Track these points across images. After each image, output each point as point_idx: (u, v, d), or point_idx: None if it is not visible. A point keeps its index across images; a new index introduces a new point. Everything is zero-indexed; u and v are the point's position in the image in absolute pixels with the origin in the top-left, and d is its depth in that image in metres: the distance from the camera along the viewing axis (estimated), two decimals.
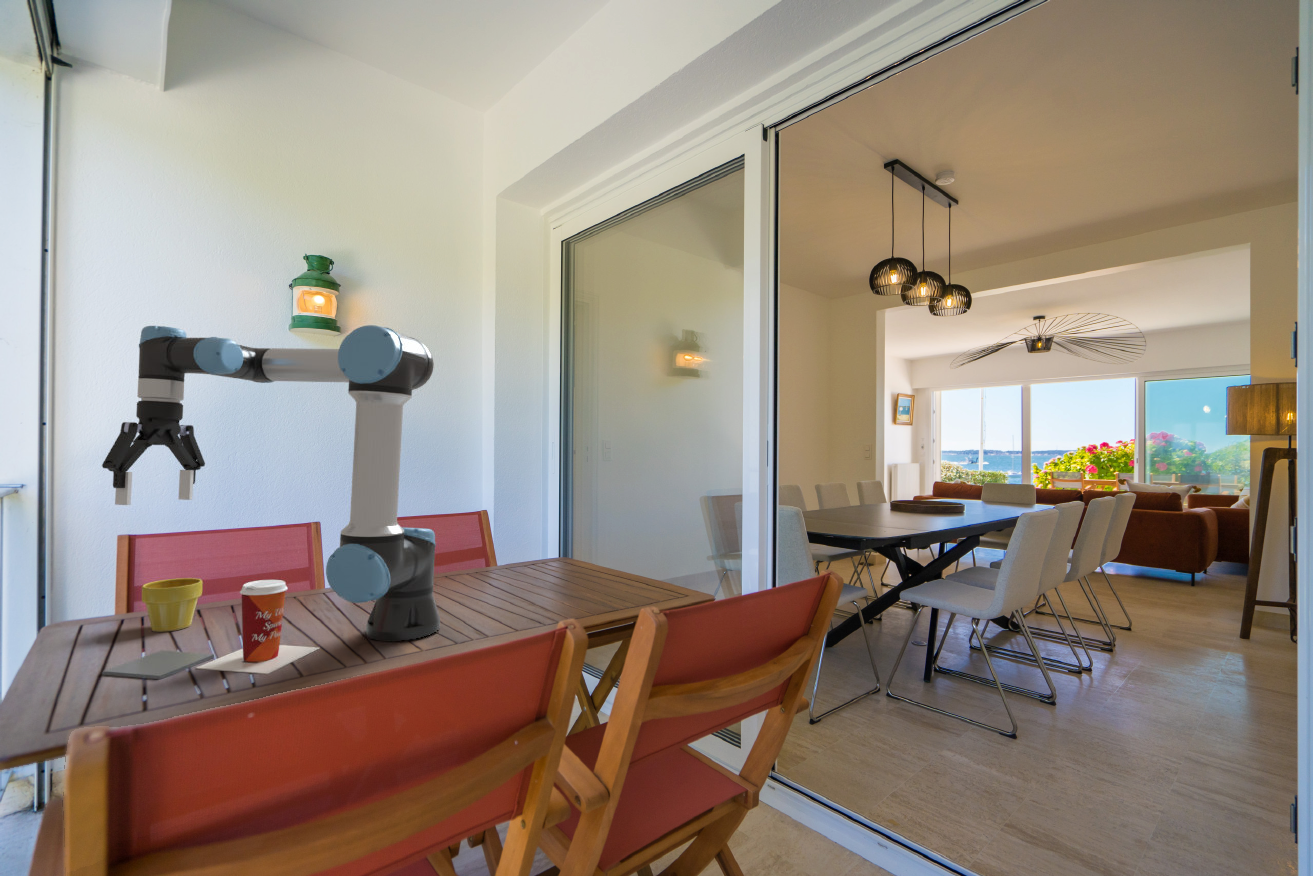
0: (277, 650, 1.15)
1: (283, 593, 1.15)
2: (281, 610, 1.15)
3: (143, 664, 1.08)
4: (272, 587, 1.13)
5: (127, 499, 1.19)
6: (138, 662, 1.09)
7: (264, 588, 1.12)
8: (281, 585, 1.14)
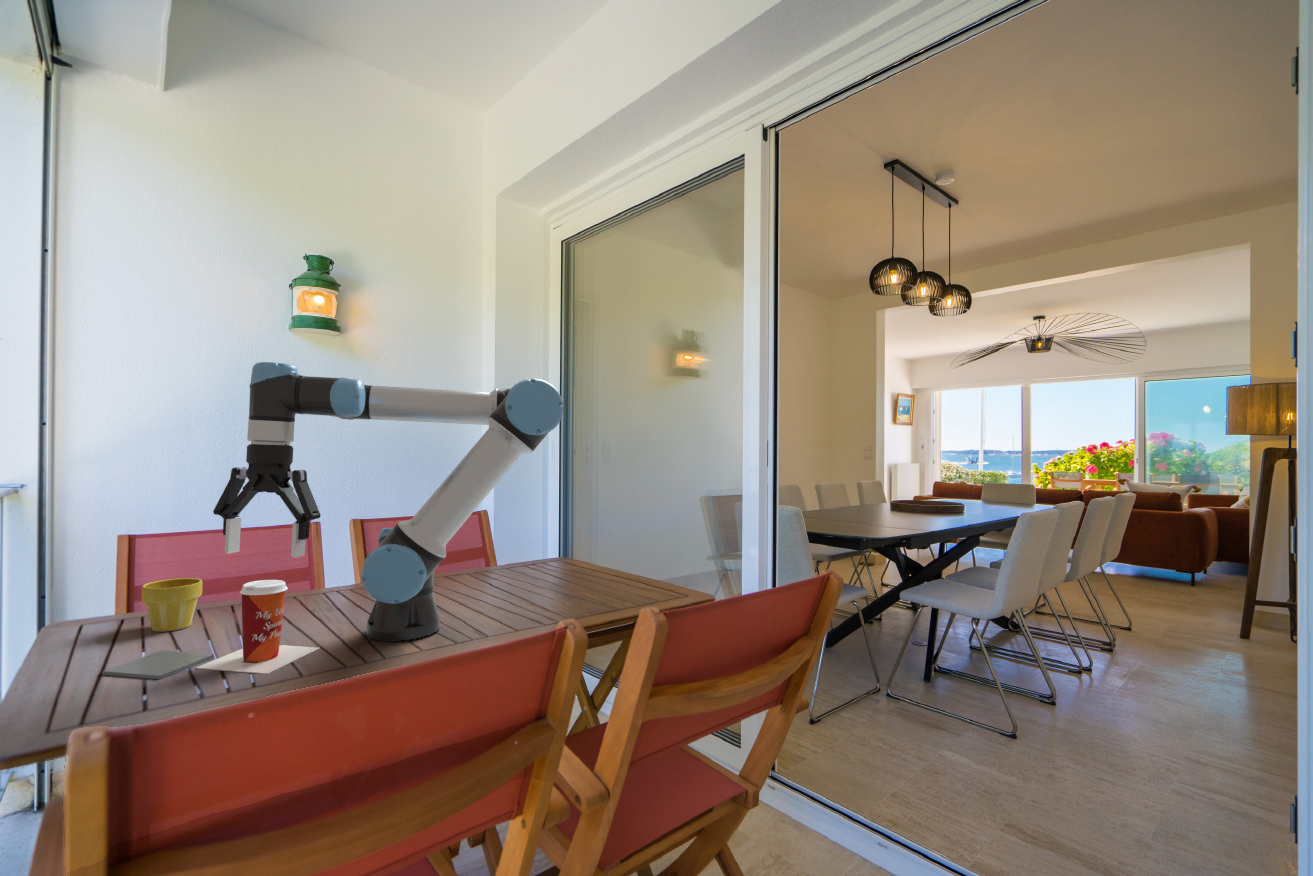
0: (277, 650, 1.15)
1: (283, 593, 1.15)
2: (281, 610, 1.15)
3: (143, 664, 1.08)
4: (272, 587, 1.13)
5: (225, 547, 1.14)
6: (138, 662, 1.09)
7: (264, 588, 1.12)
8: (281, 585, 1.14)
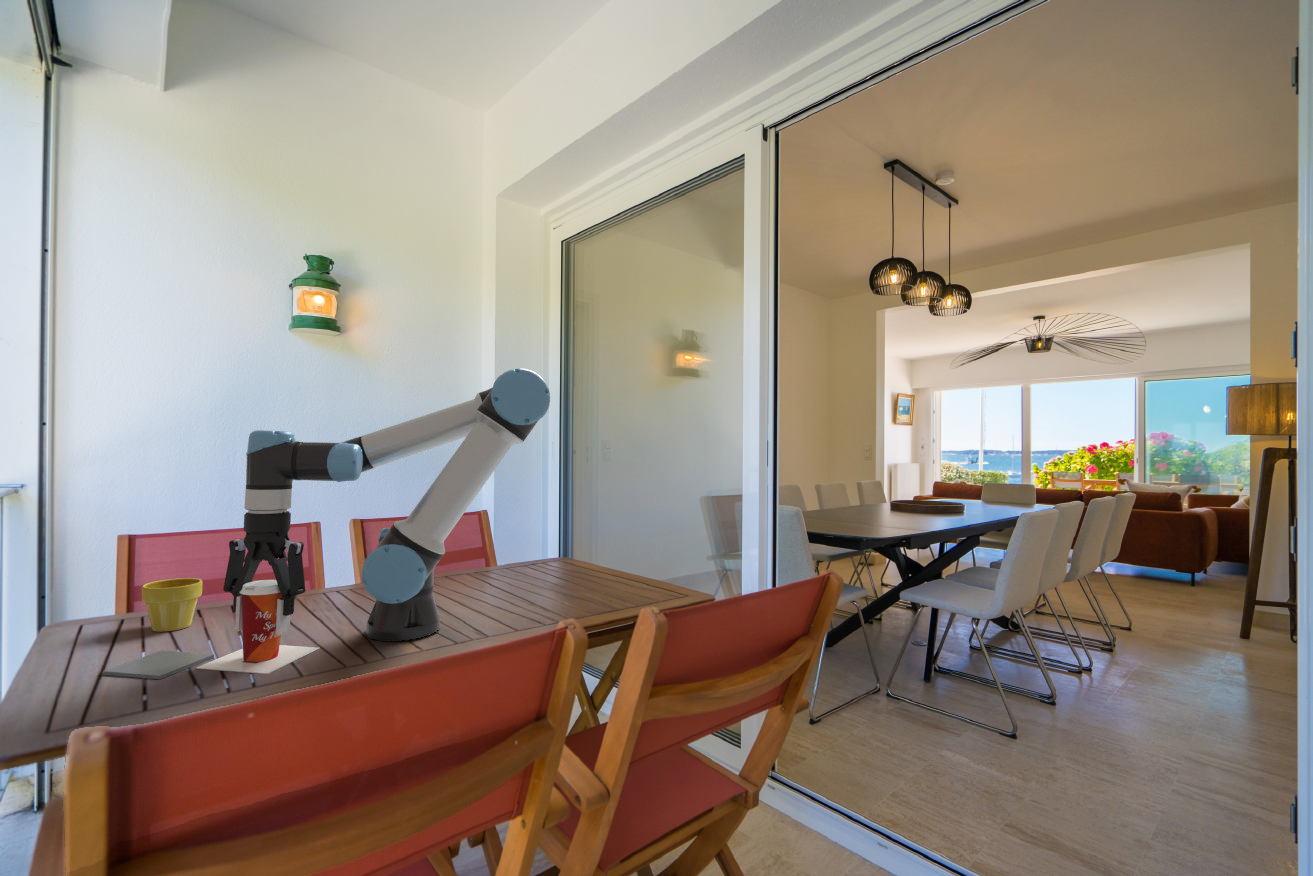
0: (277, 650, 1.15)
1: None
2: None
3: (143, 664, 1.08)
4: (272, 587, 1.13)
5: (235, 625, 1.14)
6: (138, 662, 1.09)
7: (264, 588, 1.12)
8: None
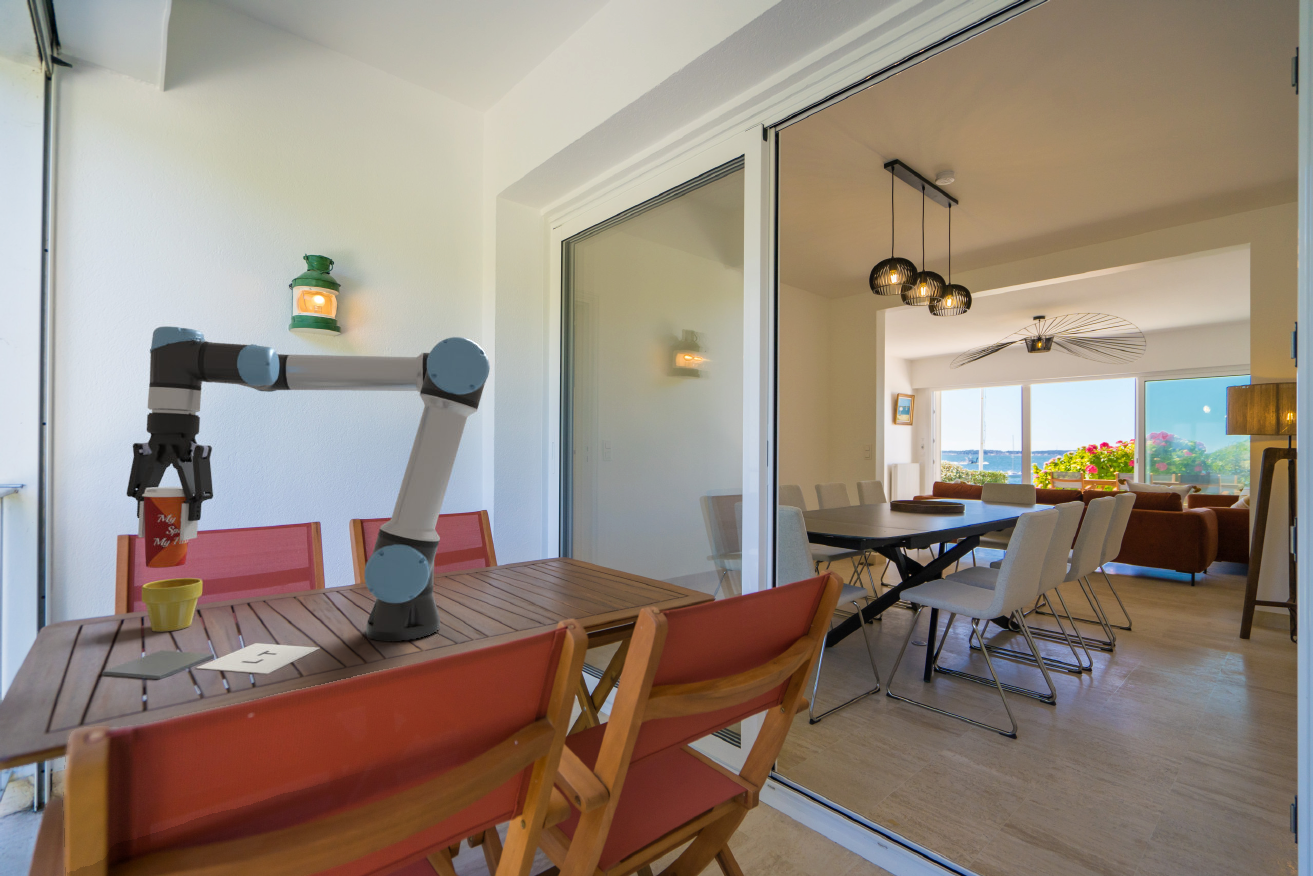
0: (183, 558, 1.10)
1: None
2: None
3: (143, 664, 1.08)
4: (176, 490, 1.08)
5: (138, 530, 1.09)
6: (138, 662, 1.09)
7: (167, 490, 1.07)
8: None
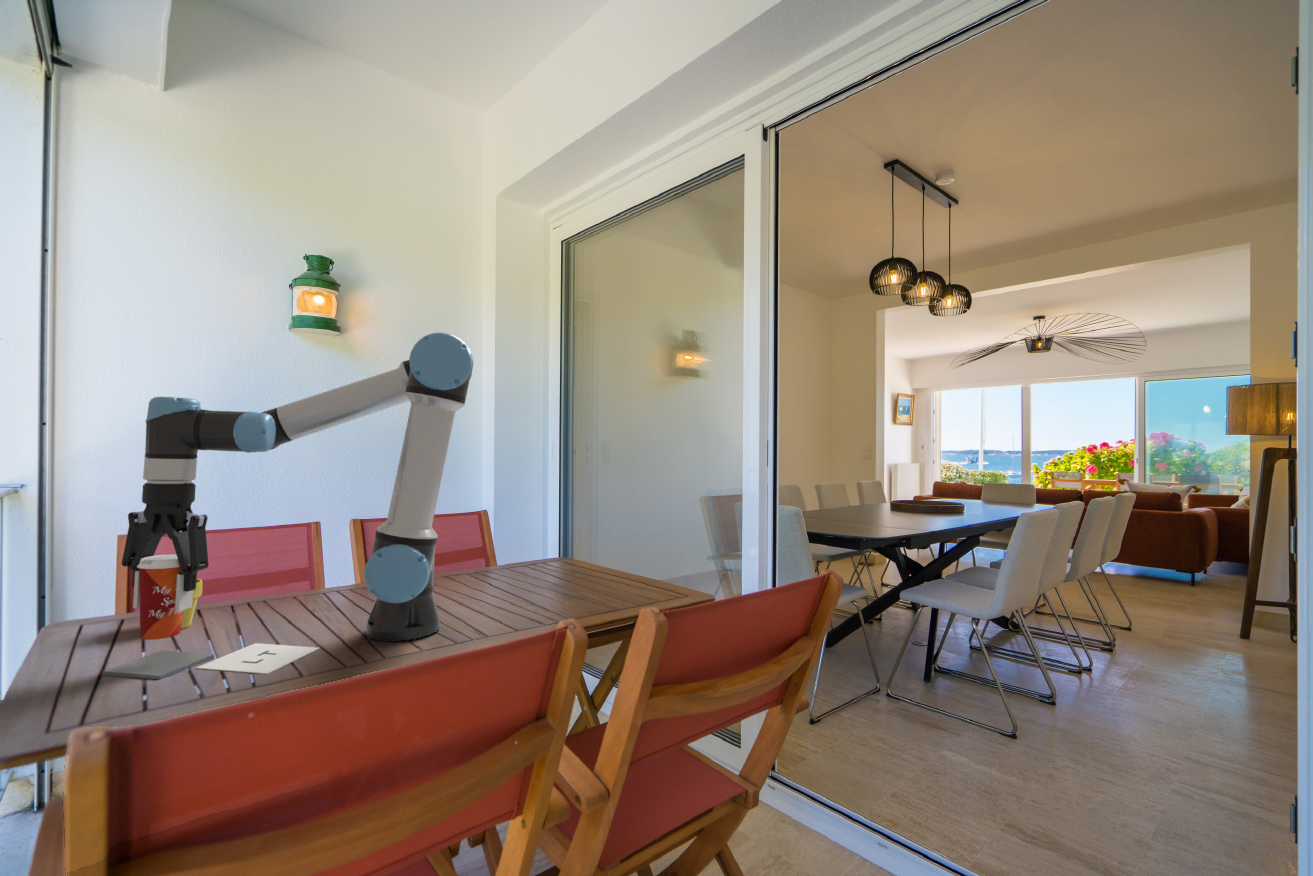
0: (178, 628, 1.09)
1: None
2: None
3: (143, 664, 1.08)
4: (171, 561, 1.07)
5: (133, 601, 1.08)
6: (138, 662, 1.09)
7: (162, 561, 1.06)
8: None
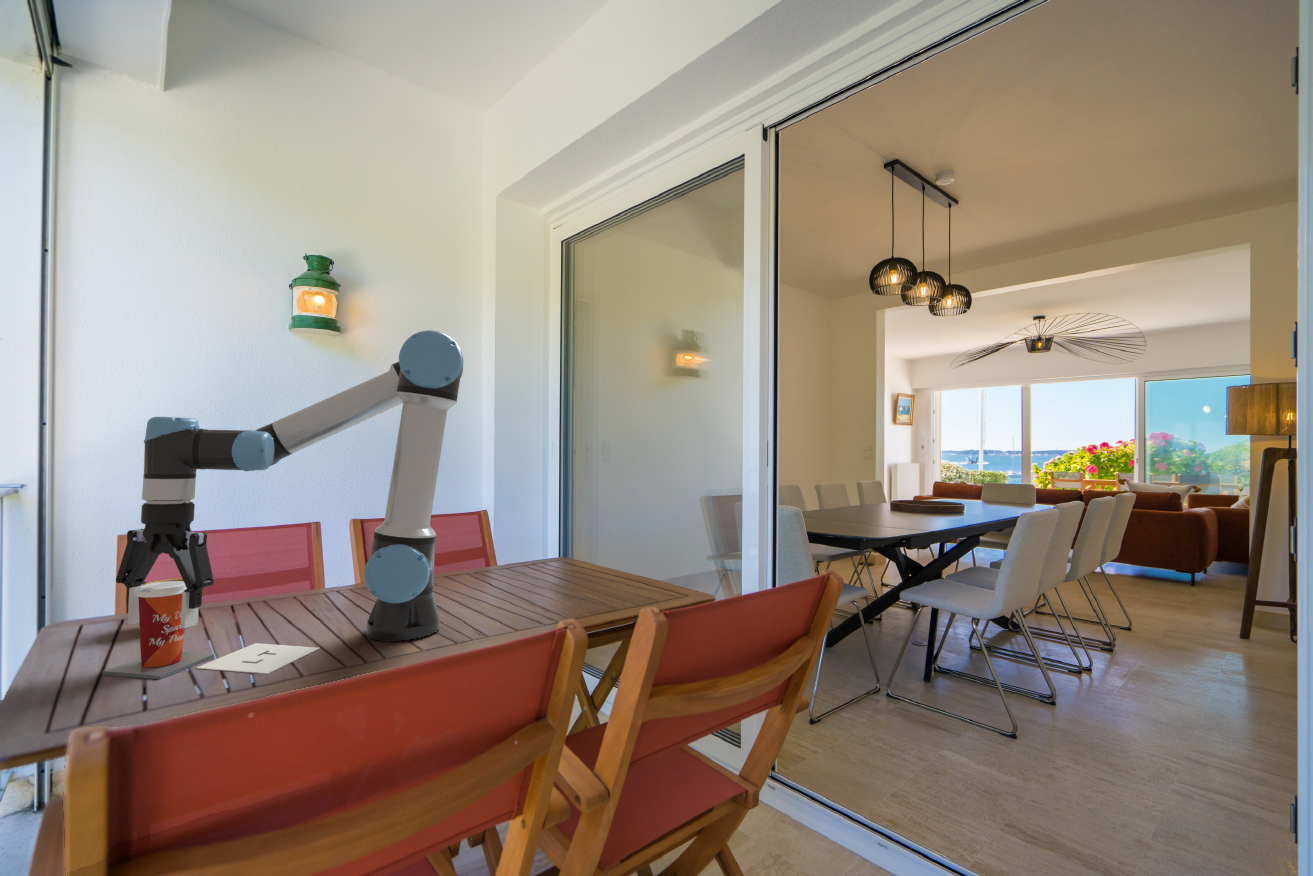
0: (179, 655, 1.09)
1: None
2: None
3: None
4: (170, 588, 1.07)
5: (128, 617, 1.08)
6: (138, 662, 1.09)
7: (161, 589, 1.06)
8: (181, 586, 1.09)
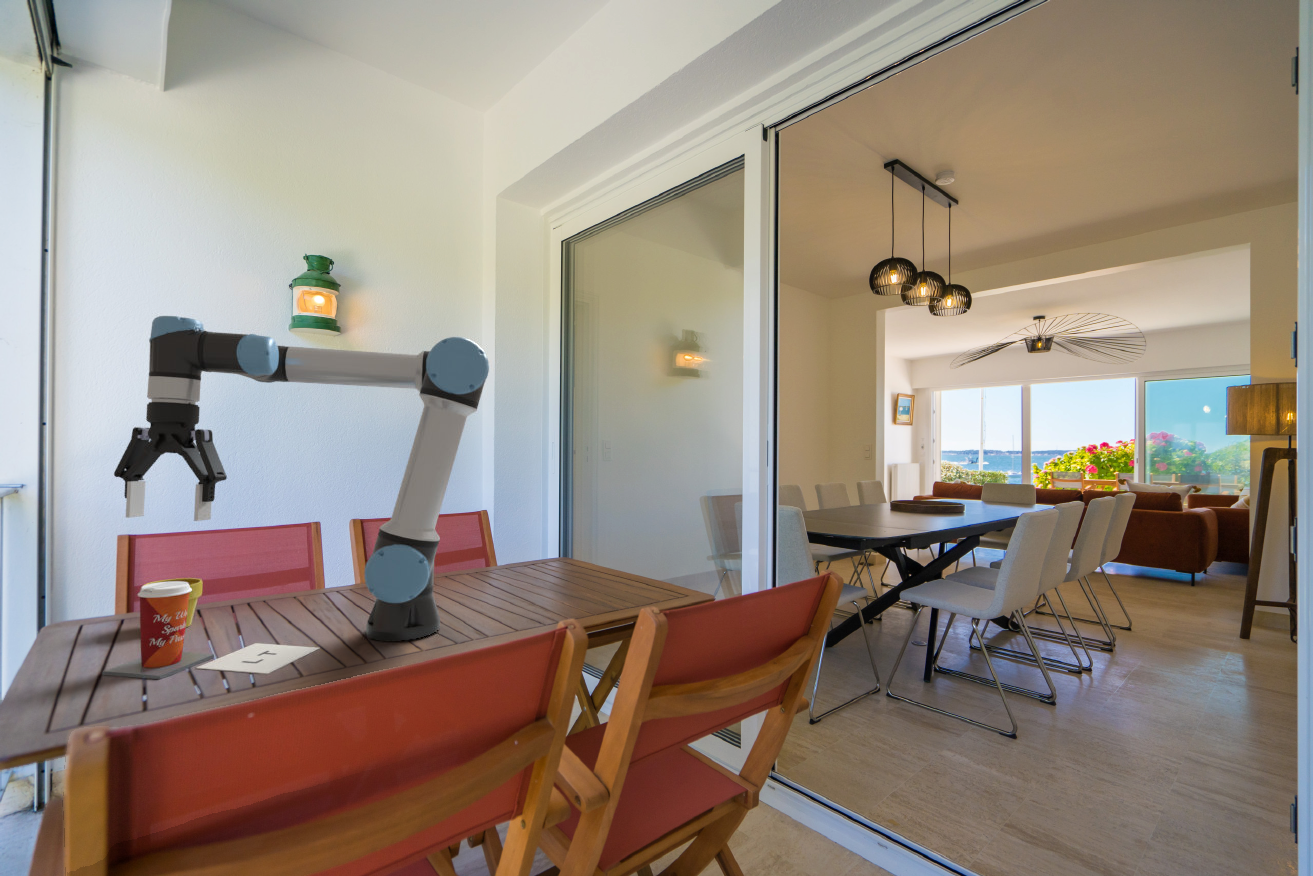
0: (179, 655, 1.09)
1: (186, 595, 1.10)
2: (183, 613, 1.09)
3: None
4: (172, 589, 1.07)
5: (126, 510, 1.09)
6: (138, 662, 1.09)
7: (163, 590, 1.06)
8: (183, 587, 1.09)
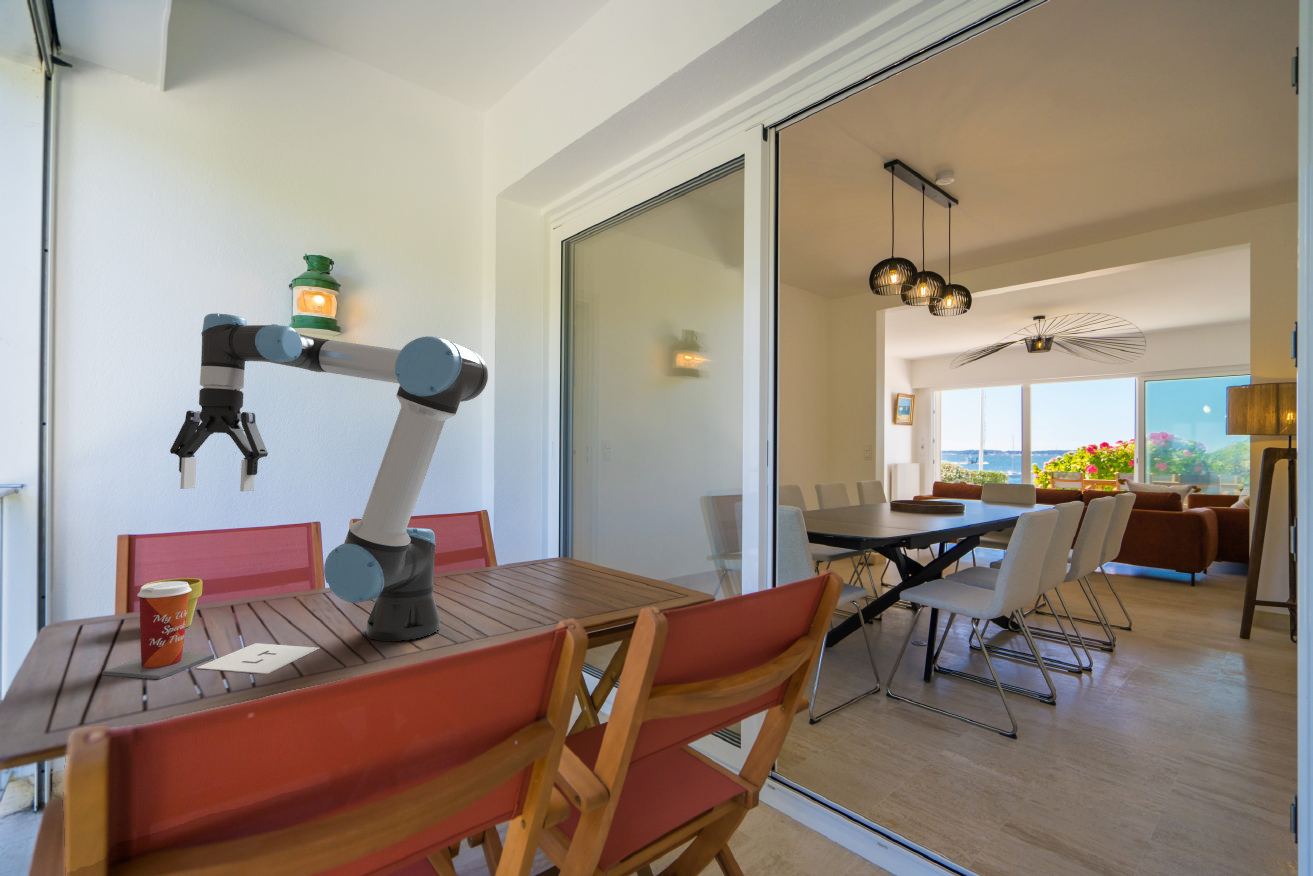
0: (179, 655, 1.09)
1: (185, 595, 1.10)
2: (183, 613, 1.09)
3: None
4: (172, 589, 1.07)
5: None
6: (138, 662, 1.09)
7: (162, 590, 1.06)
8: (183, 587, 1.09)
